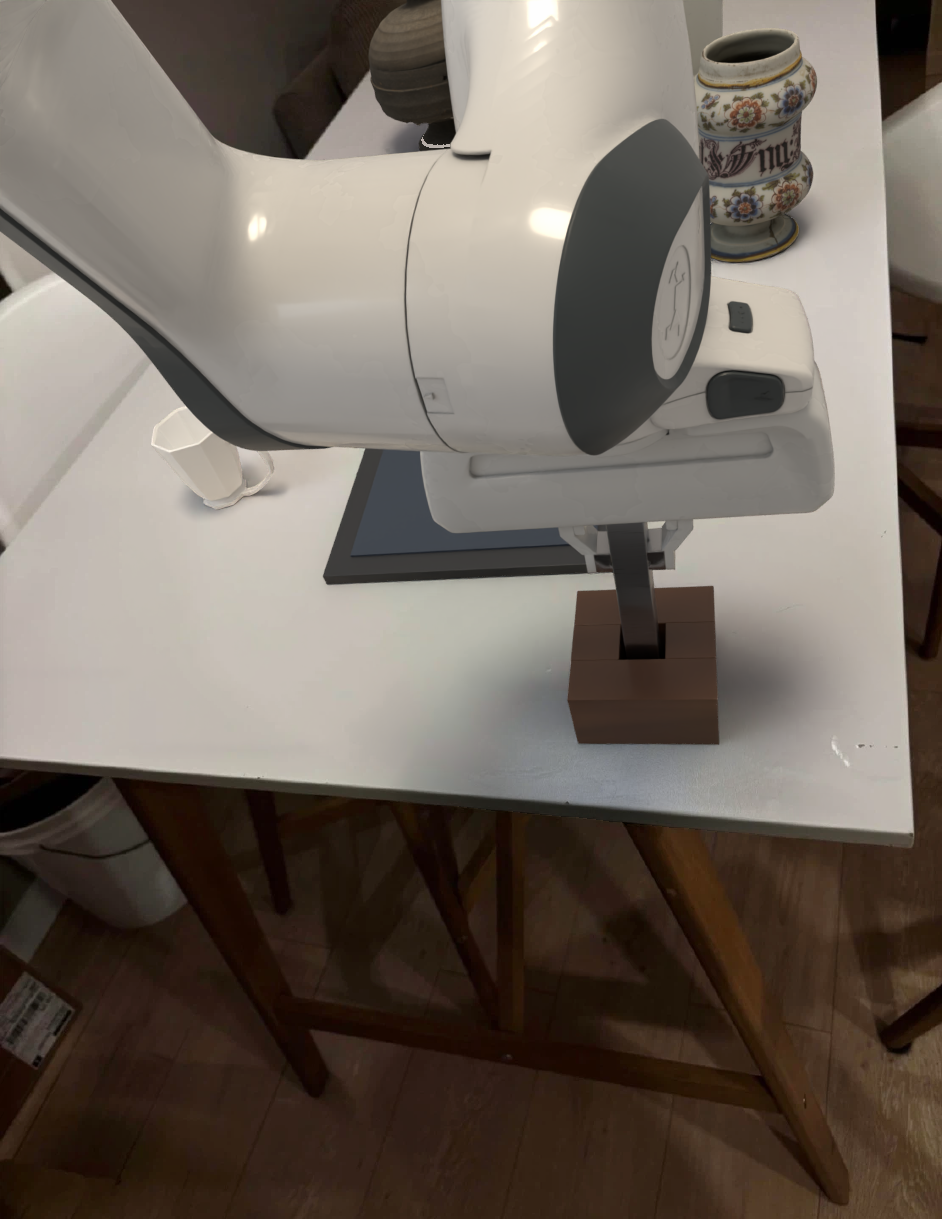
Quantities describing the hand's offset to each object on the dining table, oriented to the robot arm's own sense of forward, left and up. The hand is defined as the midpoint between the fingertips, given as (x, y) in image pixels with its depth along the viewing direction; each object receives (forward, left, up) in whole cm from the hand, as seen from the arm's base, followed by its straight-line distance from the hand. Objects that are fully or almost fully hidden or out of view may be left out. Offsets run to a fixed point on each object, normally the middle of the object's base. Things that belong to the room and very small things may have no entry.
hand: (632, 563), depth 50 cm
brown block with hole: (0, 0, -12) cm, 12 cm away
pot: (+94, +29, -12) cm, 100 cm away
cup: (+22, +38, -12) cm, 46 cm away
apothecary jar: (+56, -9, -12) cm, 58 cm away
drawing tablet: (+30, +14, -12) cm, 36 cm away
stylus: (0, 0, -11) cm, 11 cm away
